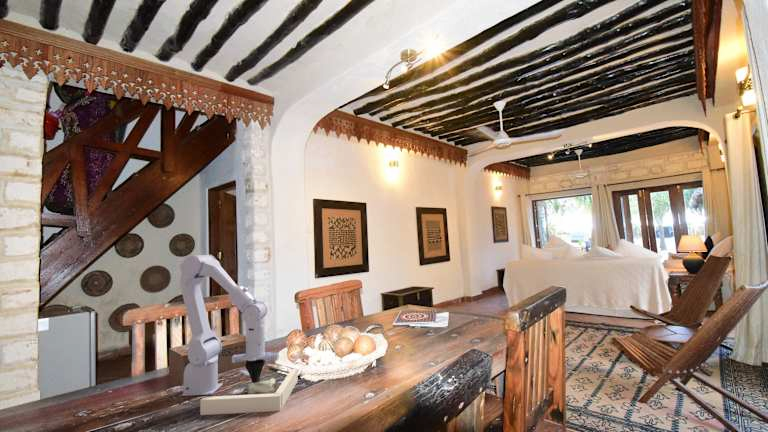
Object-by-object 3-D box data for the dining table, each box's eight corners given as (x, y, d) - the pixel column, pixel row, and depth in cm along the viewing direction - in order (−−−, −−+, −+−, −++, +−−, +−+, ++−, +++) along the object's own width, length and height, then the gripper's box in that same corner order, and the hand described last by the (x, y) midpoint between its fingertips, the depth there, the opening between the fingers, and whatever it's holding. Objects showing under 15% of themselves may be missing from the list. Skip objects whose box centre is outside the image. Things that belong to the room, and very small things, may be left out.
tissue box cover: (237, 357, 146) (237, 333, 146) (254, 364, 136) (254, 338, 137) (168, 376, 126) (169, 348, 127) (182, 385, 117) (182, 355, 118)
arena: (200, 415, 95) (200, 400, 95) (232, 384, 116) (232, 372, 116) (280, 410, 95) (280, 396, 96) (297, 380, 116) (297, 368, 116)
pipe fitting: (277, 397, 106) (273, 387, 112) (278, 384, 106) (273, 375, 112) (250, 403, 102) (247, 393, 108) (250, 390, 102) (247, 381, 108)
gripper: (227, 345, 107) (227, 390, 106) (274, 343, 107) (274, 388, 106) (236, 339, 114) (236, 381, 113) (280, 337, 114) (281, 379, 113)
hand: (255, 384), depth 110 cm, fingers closed
